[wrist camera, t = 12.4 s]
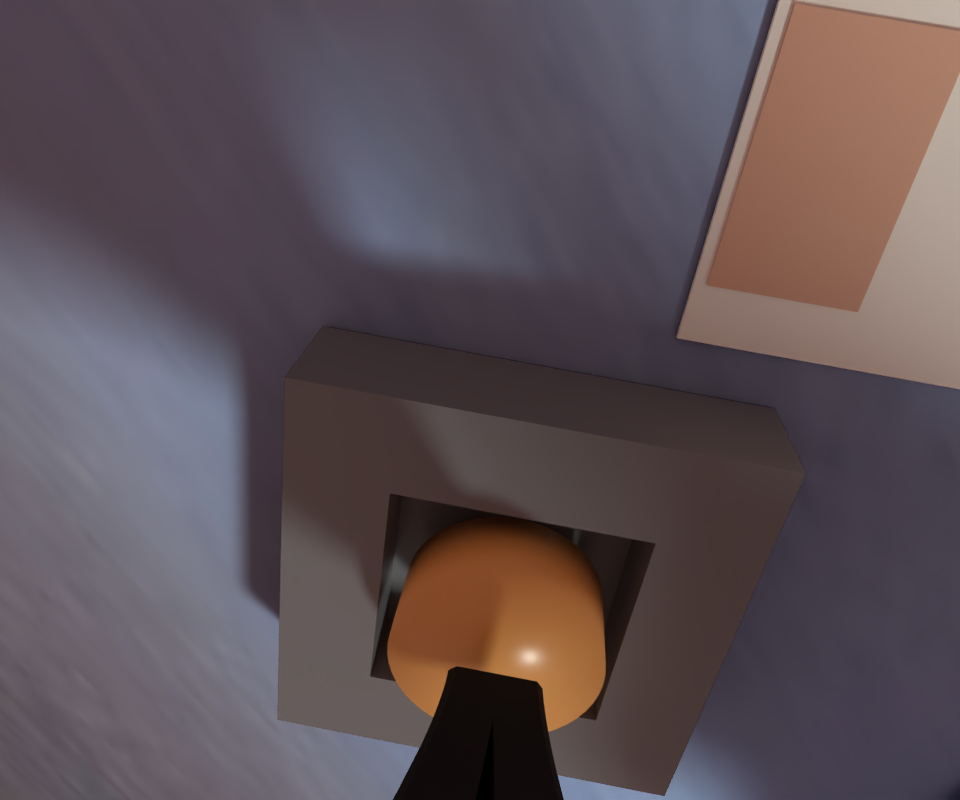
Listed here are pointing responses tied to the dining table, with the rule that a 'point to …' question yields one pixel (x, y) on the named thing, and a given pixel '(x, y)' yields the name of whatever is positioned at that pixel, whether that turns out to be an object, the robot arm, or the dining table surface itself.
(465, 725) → the robot arm
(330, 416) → the button housing
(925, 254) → the picture sheet
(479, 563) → the button
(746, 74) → the dining table surface
